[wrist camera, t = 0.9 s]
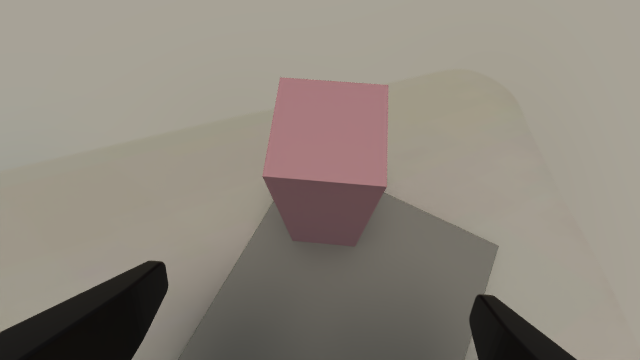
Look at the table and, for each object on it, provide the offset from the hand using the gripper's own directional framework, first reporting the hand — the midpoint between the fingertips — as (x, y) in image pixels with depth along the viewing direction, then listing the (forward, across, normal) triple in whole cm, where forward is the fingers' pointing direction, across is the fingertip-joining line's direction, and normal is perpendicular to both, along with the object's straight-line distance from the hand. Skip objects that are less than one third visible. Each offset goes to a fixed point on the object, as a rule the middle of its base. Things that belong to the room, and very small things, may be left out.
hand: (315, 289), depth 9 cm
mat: (+9, -1, +10) cm, 13 cm away
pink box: (+13, 0, +5) cm, 14 cm away
